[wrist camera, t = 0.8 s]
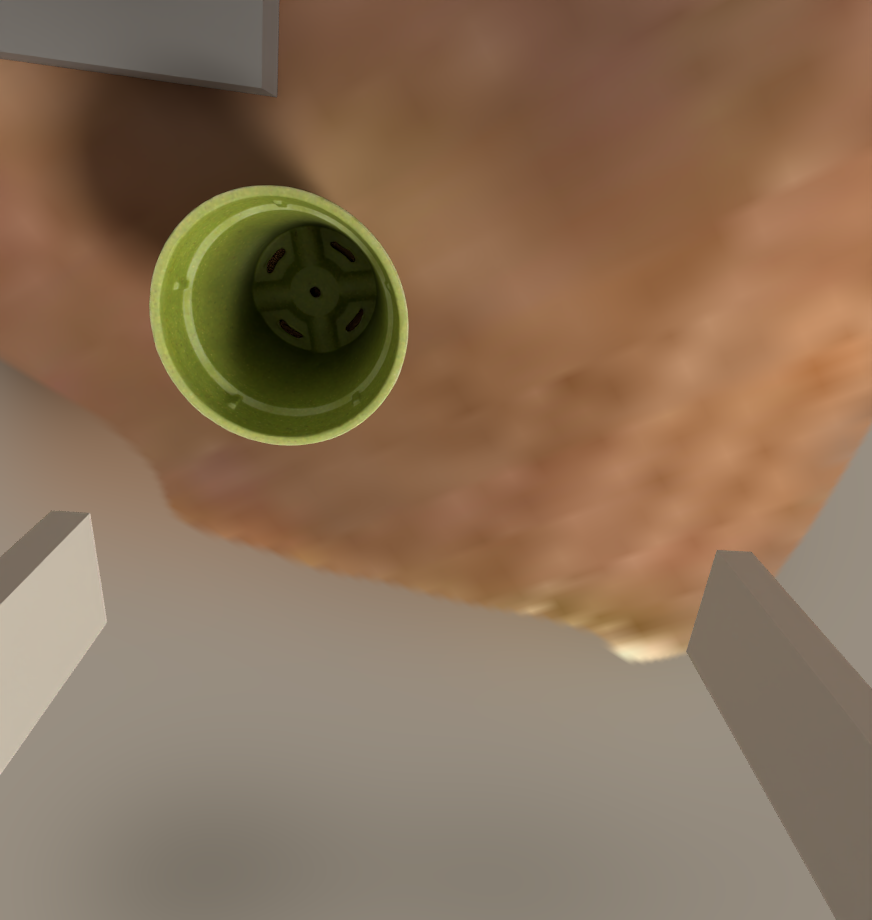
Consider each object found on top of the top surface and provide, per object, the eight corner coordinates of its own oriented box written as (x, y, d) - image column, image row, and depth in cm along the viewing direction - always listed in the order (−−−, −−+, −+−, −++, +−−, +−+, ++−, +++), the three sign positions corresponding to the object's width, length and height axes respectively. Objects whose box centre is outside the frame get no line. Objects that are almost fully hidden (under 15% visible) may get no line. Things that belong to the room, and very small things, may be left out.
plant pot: (183, 311, 32) (103, 356, 24) (280, 138, 29) (227, 123, 21) (343, 415, 34) (320, 488, 26) (449, 265, 31) (460, 295, 23)
